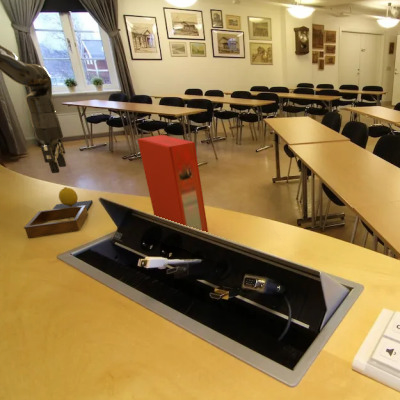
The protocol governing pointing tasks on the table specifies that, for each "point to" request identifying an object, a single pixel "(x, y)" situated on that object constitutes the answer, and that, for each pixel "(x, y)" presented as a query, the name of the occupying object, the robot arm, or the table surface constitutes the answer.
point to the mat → (82, 203)
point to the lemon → (68, 196)
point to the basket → (40, 229)
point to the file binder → (173, 180)
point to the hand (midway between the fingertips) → (59, 169)
